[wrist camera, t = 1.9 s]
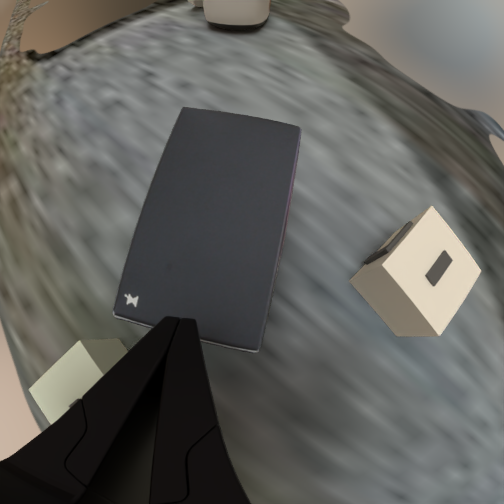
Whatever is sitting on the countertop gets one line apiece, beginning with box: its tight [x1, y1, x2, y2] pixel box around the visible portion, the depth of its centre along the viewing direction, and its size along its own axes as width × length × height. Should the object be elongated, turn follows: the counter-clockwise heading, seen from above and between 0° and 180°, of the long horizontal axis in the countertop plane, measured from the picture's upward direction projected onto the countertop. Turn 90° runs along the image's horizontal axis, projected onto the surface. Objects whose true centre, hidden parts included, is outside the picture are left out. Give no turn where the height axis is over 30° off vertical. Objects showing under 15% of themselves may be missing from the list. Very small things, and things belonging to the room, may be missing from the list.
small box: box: [112, 107, 302, 353], centre depth 17 cm, size 11×6×10 cm, turn 168°
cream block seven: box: [349, 206, 481, 337], centre depth 19 cm, size 6×6×6 cm
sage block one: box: [29, 339, 128, 425], centre depth 16 cm, size 6×6×6 cm
